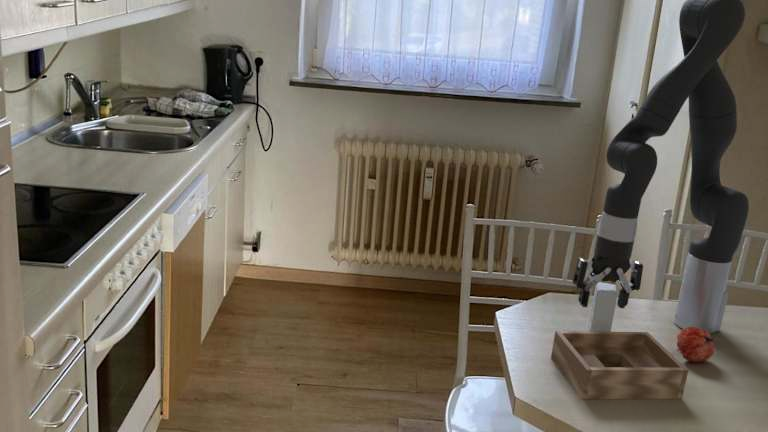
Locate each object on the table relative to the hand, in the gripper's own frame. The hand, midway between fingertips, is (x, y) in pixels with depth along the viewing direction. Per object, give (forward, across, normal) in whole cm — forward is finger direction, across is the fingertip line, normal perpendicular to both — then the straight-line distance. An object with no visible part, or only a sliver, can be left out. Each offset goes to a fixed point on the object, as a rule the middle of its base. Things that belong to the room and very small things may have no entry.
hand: (601, 306), depth 166 cm
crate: (+8, +4, +17) cm, 19 cm away
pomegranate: (+8, -18, +9) cm, 21 cm away
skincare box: (+8, 0, 0) cm, 8 cm away
